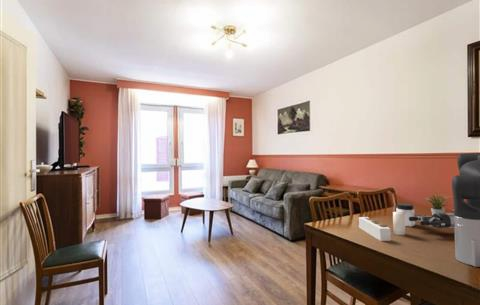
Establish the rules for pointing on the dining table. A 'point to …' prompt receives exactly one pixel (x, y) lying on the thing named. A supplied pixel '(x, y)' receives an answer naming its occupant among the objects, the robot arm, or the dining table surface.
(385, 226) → the roller
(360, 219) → the stop rail
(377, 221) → the roller
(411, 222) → the jar
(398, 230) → the white pillar candle
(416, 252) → the dining table surface
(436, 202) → the house plant
